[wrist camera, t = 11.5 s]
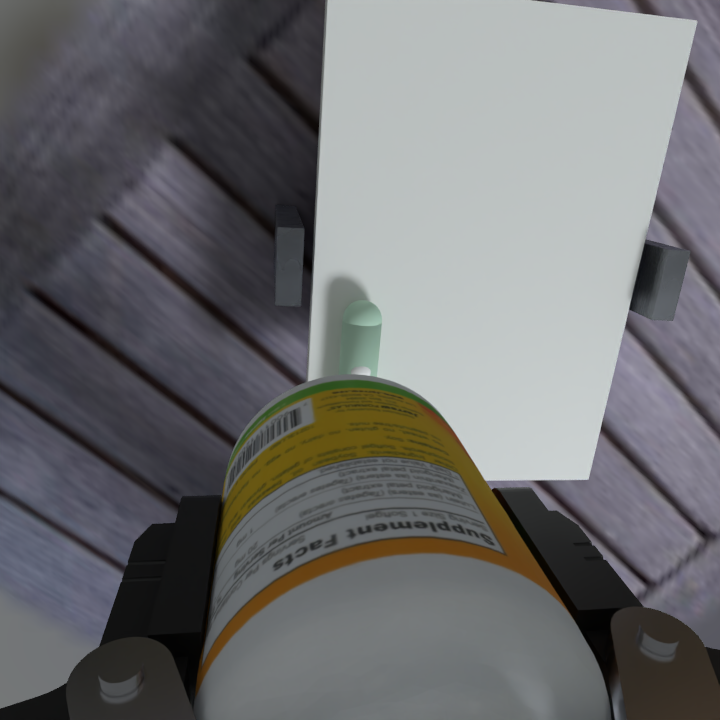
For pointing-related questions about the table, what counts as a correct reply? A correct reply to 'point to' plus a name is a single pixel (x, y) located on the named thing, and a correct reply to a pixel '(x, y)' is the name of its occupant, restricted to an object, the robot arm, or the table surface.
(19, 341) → the table surface
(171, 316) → the table surface
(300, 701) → the supplement bottle
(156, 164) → the table surface
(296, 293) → the base
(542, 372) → the levelling plate
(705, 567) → the table surface
